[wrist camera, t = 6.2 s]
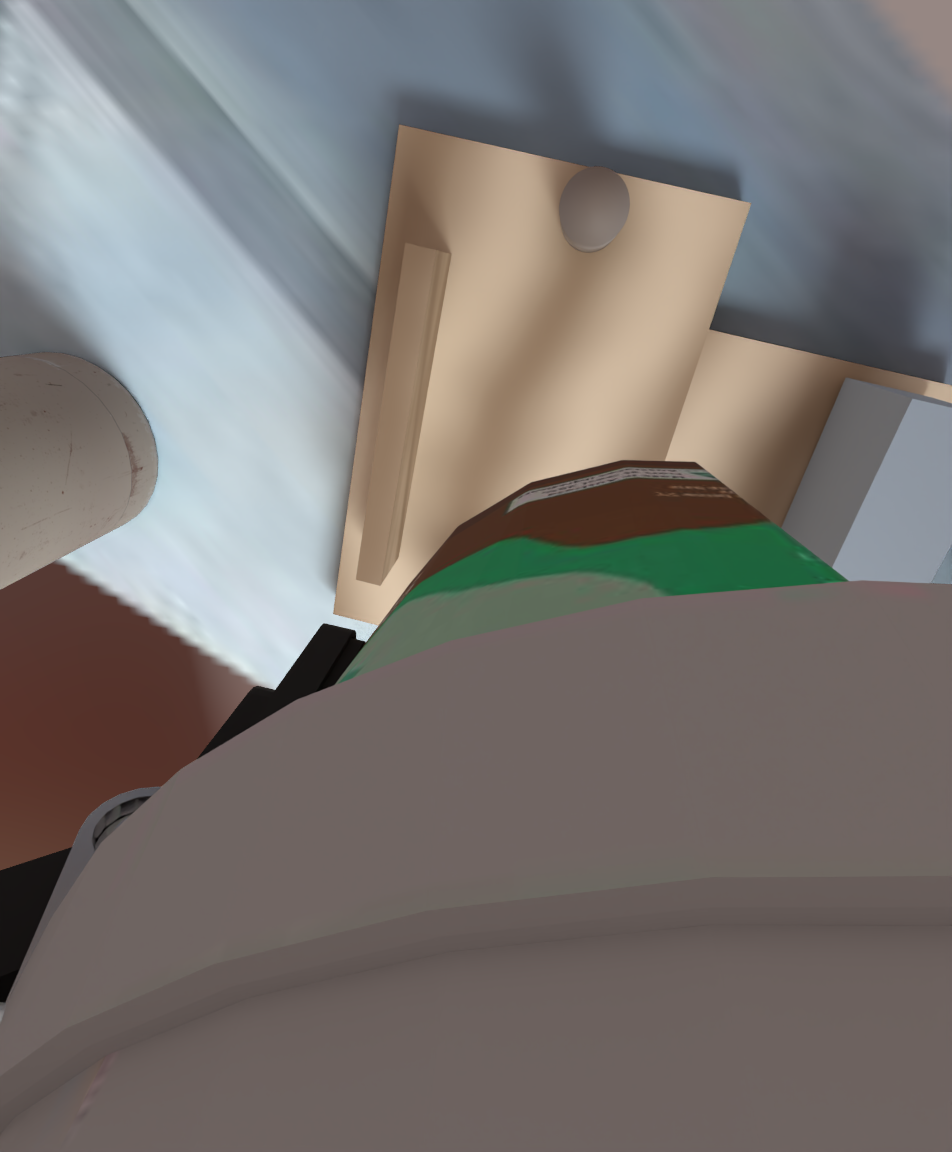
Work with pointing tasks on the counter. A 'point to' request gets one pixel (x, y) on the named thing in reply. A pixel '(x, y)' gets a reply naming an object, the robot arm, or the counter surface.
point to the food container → (539, 868)
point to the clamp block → (879, 486)
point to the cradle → (558, 352)
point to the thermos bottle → (66, 459)
